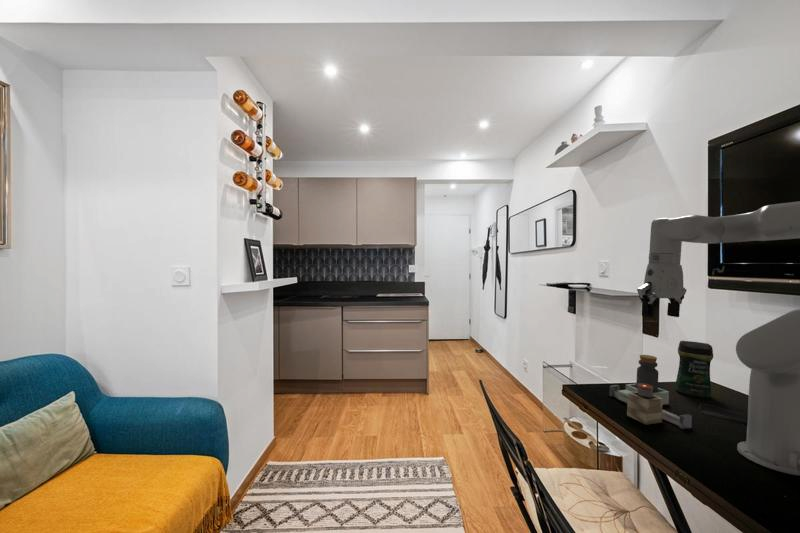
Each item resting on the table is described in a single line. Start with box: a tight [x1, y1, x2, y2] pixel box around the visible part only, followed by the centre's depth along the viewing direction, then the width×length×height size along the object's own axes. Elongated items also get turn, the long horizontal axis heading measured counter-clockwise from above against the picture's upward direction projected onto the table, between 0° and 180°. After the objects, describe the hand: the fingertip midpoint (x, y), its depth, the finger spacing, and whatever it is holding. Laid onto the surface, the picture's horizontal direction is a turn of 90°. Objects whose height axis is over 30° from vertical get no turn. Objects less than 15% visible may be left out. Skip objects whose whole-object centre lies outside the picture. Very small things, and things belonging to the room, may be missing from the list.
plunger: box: [638, 383, 653, 399], centre depth 102 cm, size 4×4×5 cm
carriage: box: [617, 383, 670, 406], centre depth 115 cm, size 8×13×4 cm, turn 106°
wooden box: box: [626, 391, 663, 425], centre depth 102 cm, size 6×6×7 cm
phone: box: [697, 402, 748, 425], centre depth 105 cm, size 8×1×15 cm
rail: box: [608, 384, 693, 430], centre depth 108 cm, size 24×3×4 cm, turn 16°
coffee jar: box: [674, 340, 714, 399], centre depth 122 cm, size 10×8×19 cm
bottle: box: [635, 354, 659, 393], centre depth 115 cm, size 6×6×15 cm
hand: (660, 316), depth 103 cm, fingers open, 9 cm apart
